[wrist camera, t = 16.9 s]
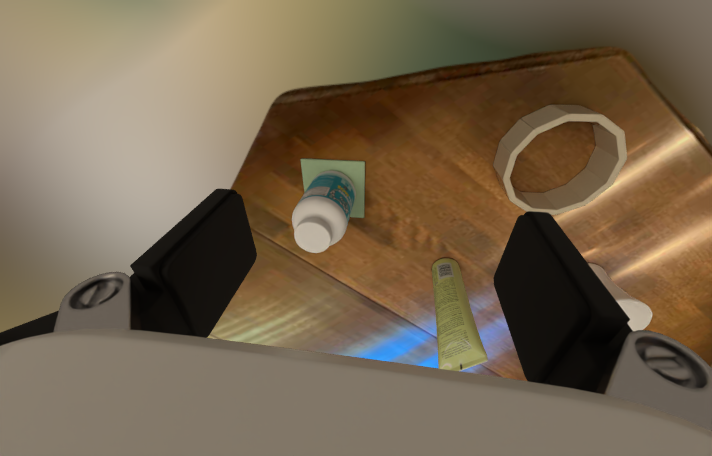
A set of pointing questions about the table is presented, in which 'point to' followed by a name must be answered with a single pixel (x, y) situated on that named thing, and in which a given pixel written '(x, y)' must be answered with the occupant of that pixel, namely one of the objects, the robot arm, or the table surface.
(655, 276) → the table surface
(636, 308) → the cup
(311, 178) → the mat
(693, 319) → the table surface
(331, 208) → the pill bottle
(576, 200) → the polygonal ring band
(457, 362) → the tube
